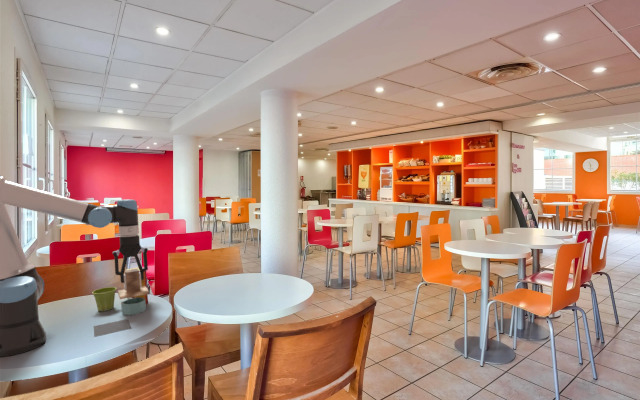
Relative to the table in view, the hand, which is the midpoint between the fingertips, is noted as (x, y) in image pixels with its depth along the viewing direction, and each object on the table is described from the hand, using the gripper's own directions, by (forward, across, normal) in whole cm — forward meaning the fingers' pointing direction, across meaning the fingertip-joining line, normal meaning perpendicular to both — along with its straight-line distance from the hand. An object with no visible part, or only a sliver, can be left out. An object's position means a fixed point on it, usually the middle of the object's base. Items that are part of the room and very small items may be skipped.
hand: (133, 288), depth 154 cm
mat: (+10, -9, -15) cm, 20 cm away
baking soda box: (+11, +3, +14) cm, 18 cm away
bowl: (+10, 0, 0) cm, 10 cm away
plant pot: (+11, -10, +13) cm, 20 cm away
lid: (+2, 0, 0) cm, 2 cm away
